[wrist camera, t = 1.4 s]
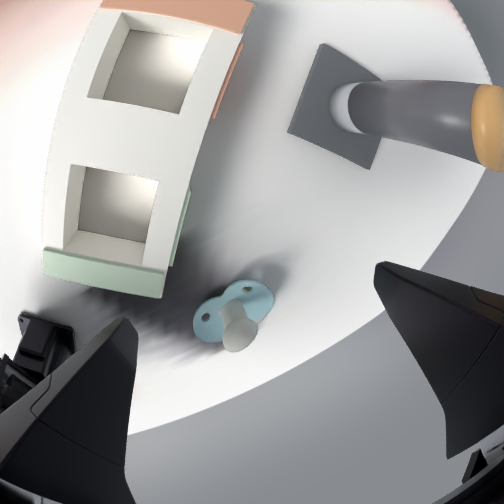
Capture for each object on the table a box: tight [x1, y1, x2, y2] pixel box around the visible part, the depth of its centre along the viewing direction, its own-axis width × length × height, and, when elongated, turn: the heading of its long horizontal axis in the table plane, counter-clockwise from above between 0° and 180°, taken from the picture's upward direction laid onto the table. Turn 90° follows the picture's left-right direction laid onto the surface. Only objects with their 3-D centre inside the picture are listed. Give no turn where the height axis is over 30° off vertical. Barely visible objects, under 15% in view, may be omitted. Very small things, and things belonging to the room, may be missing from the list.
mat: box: [287, 43, 381, 170], centre depth 18 cm, size 8×8×1 cm
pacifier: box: [193, 280, 274, 352], centre depth 22 cm, size 7×6×6 cm
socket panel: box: [42, 0, 257, 299], centre depth 14 cm, size 20×9×4 cm, turn 161°
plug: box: [329, 80, 504, 172], centre depth 12 cm, size 4×4×13 cm
